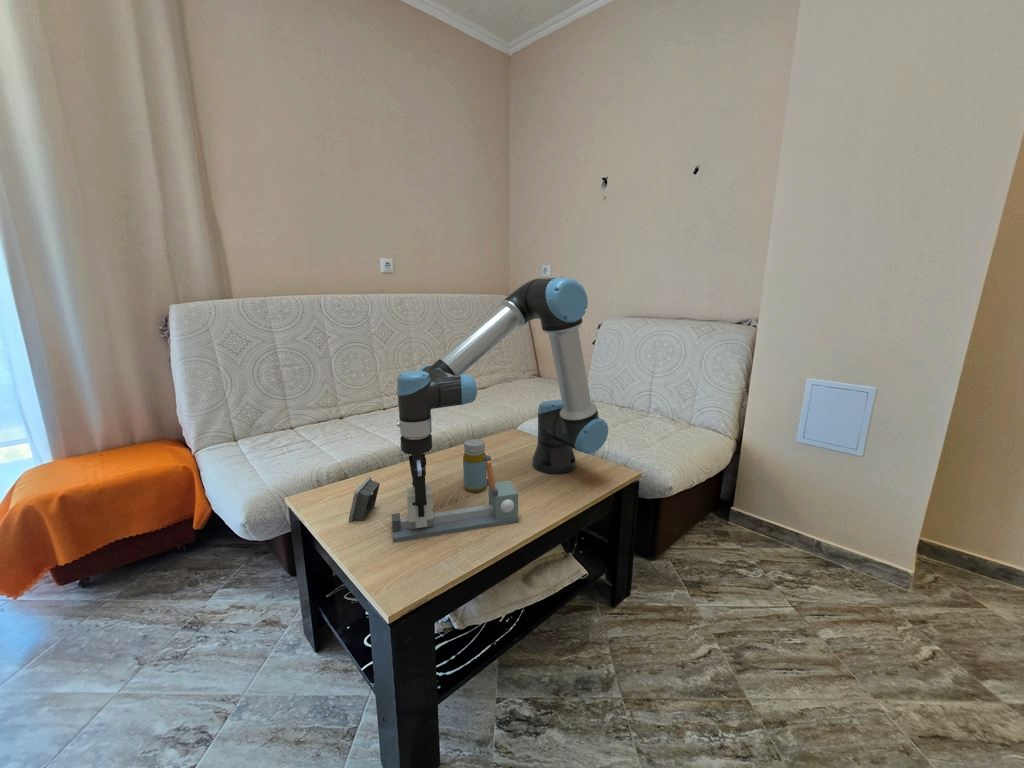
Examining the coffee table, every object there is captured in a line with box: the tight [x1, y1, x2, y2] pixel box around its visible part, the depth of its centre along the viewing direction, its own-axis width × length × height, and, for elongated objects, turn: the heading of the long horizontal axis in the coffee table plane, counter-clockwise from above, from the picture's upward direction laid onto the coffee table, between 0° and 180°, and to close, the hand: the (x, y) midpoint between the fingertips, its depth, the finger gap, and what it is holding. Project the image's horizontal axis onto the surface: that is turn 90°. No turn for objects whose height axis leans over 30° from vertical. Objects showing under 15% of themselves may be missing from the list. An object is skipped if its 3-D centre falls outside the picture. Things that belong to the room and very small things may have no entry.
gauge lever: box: [484, 454, 495, 491], centre depth 110 cm, size 2×4×9 cm, turn 17°
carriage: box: [405, 484, 434, 530], centre depth 106 cm, size 6×5×9 cm
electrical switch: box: [348, 476, 381, 522], centre depth 114 cm, size 9×5×9 cm, turn 176°
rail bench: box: [391, 478, 519, 544], centre depth 109 cm, size 32×9×10 cm, turn 107°
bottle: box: [462, 438, 487, 493], centre depth 128 cm, size 7×7×15 cm
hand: (420, 520), depth 107 cm, fingers closed on carriage, 5 cm apart
